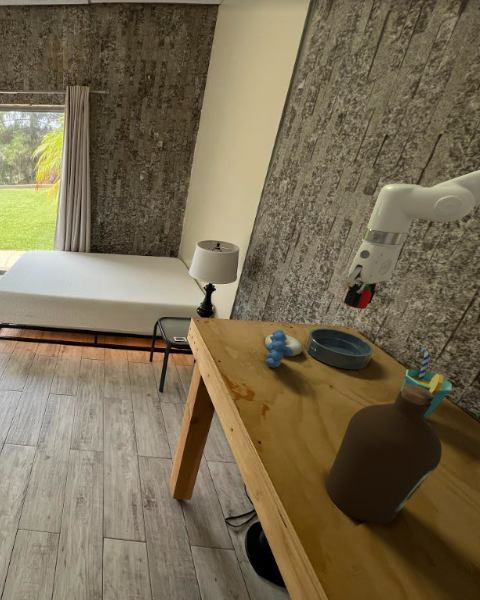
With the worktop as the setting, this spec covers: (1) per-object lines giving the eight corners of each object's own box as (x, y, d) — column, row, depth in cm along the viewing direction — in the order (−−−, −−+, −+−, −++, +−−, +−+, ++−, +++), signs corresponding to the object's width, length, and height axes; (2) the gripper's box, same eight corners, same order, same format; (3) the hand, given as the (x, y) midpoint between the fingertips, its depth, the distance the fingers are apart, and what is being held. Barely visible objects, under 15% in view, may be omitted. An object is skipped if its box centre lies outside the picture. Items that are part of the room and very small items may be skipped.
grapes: (289, 382, 85) (301, 345, 80) (260, 375, 88) (271, 338, 83) (286, 359, 95) (298, 324, 89) (261, 353, 97) (270, 319, 92)
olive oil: (317, 503, 56) (370, 394, 46) (324, 462, 63) (372, 360, 53) (398, 546, 50) (482, 432, 39) (396, 495, 57) (466, 387, 46)
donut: (291, 341, 103) (259, 339, 105) (294, 332, 102) (261, 330, 103) (306, 360, 94) (271, 357, 96) (310, 350, 93) (274, 347, 94)
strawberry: (352, 300, 89) (360, 281, 86) (370, 307, 85) (378, 287, 82) (341, 303, 87) (349, 284, 85) (359, 309, 84) (367, 290, 81)
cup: (375, 389, 82) (399, 340, 76) (414, 398, 79) (442, 348, 73) (397, 428, 71) (427, 375, 64) (444, 440, 68) (480, 385, 61)
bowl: (327, 337, 105) (331, 324, 103) (379, 363, 92) (386, 349, 90) (293, 347, 100) (297, 333, 98) (343, 375, 87) (349, 360, 85)
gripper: (378, 244, 72) (350, 314, 80) (423, 237, 77) (392, 304, 85) (344, 237, 79) (321, 302, 87) (387, 230, 84) (362, 293, 92)
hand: (356, 302), depth 86 cm, fingers closed on strawberry, 4 cm apart
